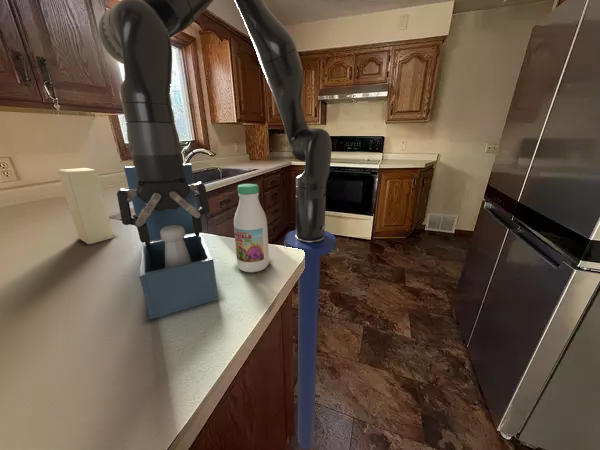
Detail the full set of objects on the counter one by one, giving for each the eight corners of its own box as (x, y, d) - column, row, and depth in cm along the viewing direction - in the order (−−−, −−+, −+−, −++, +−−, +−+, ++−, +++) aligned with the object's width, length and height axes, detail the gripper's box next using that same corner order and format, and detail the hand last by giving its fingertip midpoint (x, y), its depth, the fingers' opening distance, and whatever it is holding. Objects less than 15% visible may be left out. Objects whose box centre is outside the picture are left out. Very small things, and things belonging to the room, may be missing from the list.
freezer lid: (191, 164, 50) (188, 160, 55) (123, 167, 45) (126, 163, 49) (200, 232, 56) (197, 224, 61) (141, 242, 51) (142, 232, 55)
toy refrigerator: (117, 236, 77) (99, 169, 70) (88, 244, 71) (65, 172, 64) (106, 231, 81) (88, 167, 74) (78, 238, 75) (56, 169, 68)
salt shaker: (183, 275, 55) (173, 220, 50) (203, 280, 53) (195, 224, 48) (160, 289, 49) (147, 229, 45) (182, 296, 47) (170, 234, 43)
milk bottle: (248, 255, 65) (242, 181, 58) (274, 260, 63) (271, 183, 56) (231, 269, 58) (222, 187, 52) (259, 275, 56) (254, 189, 49)
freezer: (218, 299, 48) (213, 259, 45) (150, 319, 42) (139, 276, 39) (205, 266, 60) (200, 233, 57) (151, 279, 54) (142, 243, 51)
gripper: (197, 149, 48) (208, 226, 54) (108, 151, 41) (131, 239, 47) (204, 151, 42) (215, 238, 47) (101, 154, 35) (128, 255, 41)
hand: (173, 239), depth 47 cm, fingers open, 8 cm apart
